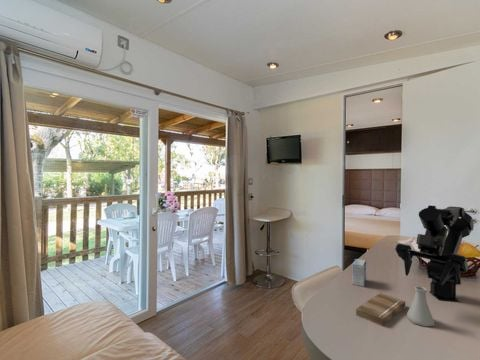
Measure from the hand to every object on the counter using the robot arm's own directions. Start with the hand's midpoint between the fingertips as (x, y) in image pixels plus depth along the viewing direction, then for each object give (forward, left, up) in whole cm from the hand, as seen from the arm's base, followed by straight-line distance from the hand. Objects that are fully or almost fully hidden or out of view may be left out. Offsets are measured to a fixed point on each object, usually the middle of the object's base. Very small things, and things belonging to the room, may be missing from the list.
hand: (422, 279), depth 81 cm
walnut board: (+12, -1, -12) cm, 17 cm away
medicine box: (+13, -24, -12) cm, 30 cm away
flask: (+2, +3, -12) cm, 12 cm away
